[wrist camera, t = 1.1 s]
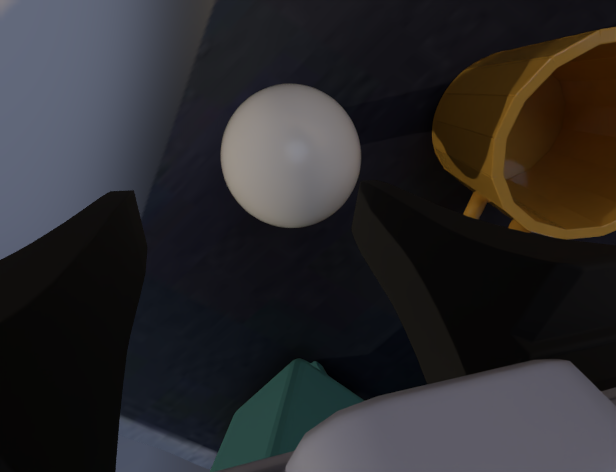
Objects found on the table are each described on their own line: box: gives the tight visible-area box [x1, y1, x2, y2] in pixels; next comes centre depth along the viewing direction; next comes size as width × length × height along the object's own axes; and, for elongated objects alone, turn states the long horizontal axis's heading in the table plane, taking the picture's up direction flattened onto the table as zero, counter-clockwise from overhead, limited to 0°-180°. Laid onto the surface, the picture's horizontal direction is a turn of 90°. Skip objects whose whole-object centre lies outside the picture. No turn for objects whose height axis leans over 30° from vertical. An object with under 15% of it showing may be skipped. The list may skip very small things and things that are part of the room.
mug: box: [432, 27, 616, 239], centre depth 18 cm, size 11×8×9 cm
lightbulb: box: [221, 84, 361, 228], centre depth 17 cm, size 6×6×11 cm
